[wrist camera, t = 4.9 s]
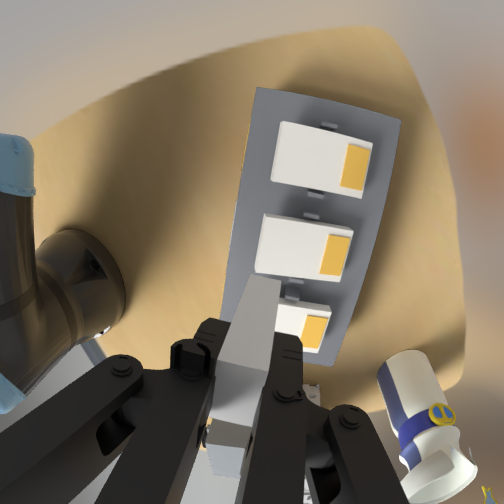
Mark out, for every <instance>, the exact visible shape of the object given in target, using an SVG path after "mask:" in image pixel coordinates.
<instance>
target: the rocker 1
mask: <svg viewBox="0 0 504 504" xmlns="http://www.w3.org/2000/svg"><path fill="white" fill-rule="evenodd" d="M372 145H373V143H370V142H367V141H363V140H360V139H357V138H353V137H349V136H346V135H342V134H338V133H334V132H330V131H326V130H322V129H318V128H314V127H309V126H305V125H300V124H296V123H291V122H286V121H282V122H280V127H279V133H278V138H277V144H276V150H275V155H274V161H273V166H272V172H271V178H270V180H271V181H273V182H279V183H285V184H290V185H296V186H301V187H307V188H312V189H317V190H322V191H327V192H332V193H337V194H342V195H346V196H351V197H355V198H360V199H362V194H363V190H364V185H365V181H366V176H367V171H368V166H369V161H370V156H371V151H372Z"/></svg>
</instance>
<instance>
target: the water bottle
mask: <svg viewBox="0 0 504 504" xmlns="http://www.w3.org/2000/svg"><path fill="white" fill-rule="evenodd" d="M377 384H378V386H379V389H380V391H381V394H382V397H383V400H384V403H385V406H386V409H387V413H388V416H389V420H390V423H391V427H392V429H393V432H394V433H395V435H396V436H397V437H398V438H399V442H400V446H401V450H402V451H401V453H400V456H399V458H400V461H401V462H402V463H403V464H404V465H406V466H407V468H408V470H409V473H408V474H407V475H406V477H405V478H404V479H403V480H402V481H401V482H400V483H401V485H402V488H403V490H404V492H405V494H406V496H407V499H408V501H409V503H410V504H437V503H439V502H442V501H444V500H446V499H448V498H450V497H452V496H453V495H455V494H457V493H458V492H460V491H461V490H462V489H464V488H465V487H466V486H467V485H468V484H470V483H471V482H472V481H473V479H474V478H475V477H476V474H477V471H478V468H477V465H476V464H475V462H474V460H473V459H472V457H471V459H470V461H469V460H468V459H467V458H466V457H465V456H464V455H463V454H462V452H461V451H460V449H459V437H460V431H459V429H458V428H457V427H455V426H454V425H453V424H454V423H455V421H456V415H455V413H454V411H453V410H452V409H451V408H450V407H449V406H448V404H447V401H446V399H445V396H444V394H443V392H442V389H441V387H440V385H439V383H438V381H437V379H436V376H435V374H434V372H433V369H432V367H431V364H430V362H429V360H428V358H427V356H426V355H425V354H424V353H423V352H421V351H418V350H405V351H402V352H399V353H397V354H395V355H393V356H391V357H390V358H389V359H387V360H386V361H385V362H384V363H383V365H382V366H381V367H380V369H379V371H378V373H377ZM469 452H470V455H471V456H472V454H471V450H470V448H469ZM482 489H483V492H484V495H485V499H484V503H483V504H497V501H496V500H495V499H494V498H493V495H492V488H491V487H490V488H489V489H488V490H487V489H486V488H485V487H484V486H482Z"/></svg>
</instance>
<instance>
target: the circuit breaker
mask: <svg viewBox="0 0 504 504" xmlns="http://www.w3.org/2000/svg"><path fill="white" fill-rule="evenodd" d="M303 390H304V391H305V392H306V396H307V398H308V399H309V400H310V401H312V402H313V403H314V404H316V405H318V406H320V407H321V405H320V392H319V384H316V386H309V384H303ZM251 430H252V427H249V426H244V425H240V424H235V423H231V422H227V421H222V420H218V419H214V418H213V420H212V423H211V425H208V426H207V427H206V430H205V433H204V436H203V439H202V445H203V447H204V448H207V452H208V456H209V460H210V464H211V467H212V470H213V474H214V475H219V476H226V477H234V478H240V477H241V473H242V468H243V464H244V459H245V454H246V451H245V449H246V446H247V443H248V440H249V436H250V433H251ZM303 504H312V499H311V495H310V491H309V487H308V484H307V480H306V476H305V484H304V501H303Z"/></svg>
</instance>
